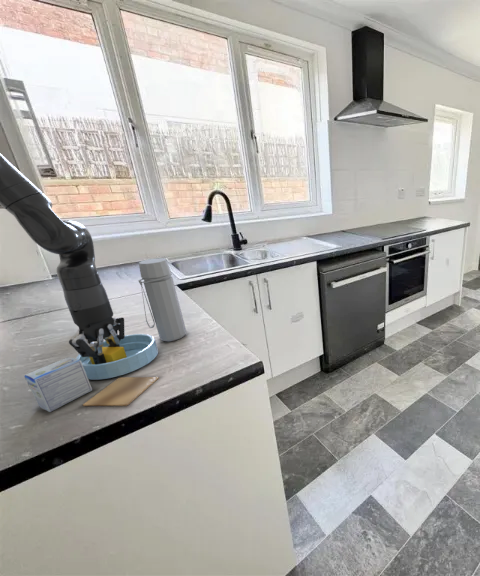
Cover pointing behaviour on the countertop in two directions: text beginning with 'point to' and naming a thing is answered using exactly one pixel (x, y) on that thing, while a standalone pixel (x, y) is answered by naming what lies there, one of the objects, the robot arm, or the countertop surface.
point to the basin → (137, 352)
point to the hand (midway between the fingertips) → (110, 361)
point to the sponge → (112, 354)
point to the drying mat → (121, 391)
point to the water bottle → (162, 299)
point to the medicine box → (58, 383)
